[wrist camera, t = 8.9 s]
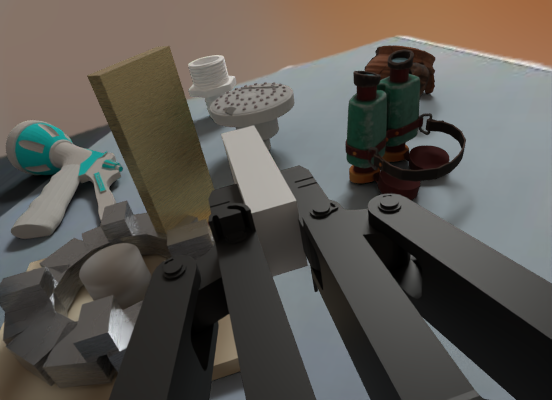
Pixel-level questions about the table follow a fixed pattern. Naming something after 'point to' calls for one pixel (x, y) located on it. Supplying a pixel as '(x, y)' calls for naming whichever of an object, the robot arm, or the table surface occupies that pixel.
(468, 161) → the table surface
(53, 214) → the garden hose nozzle
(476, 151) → the table surface
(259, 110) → the showerhead
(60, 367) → the block ring with board
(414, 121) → the binoculars
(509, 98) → the table surface
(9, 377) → the base
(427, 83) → the brown leather pouch
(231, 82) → the pipe fitting
